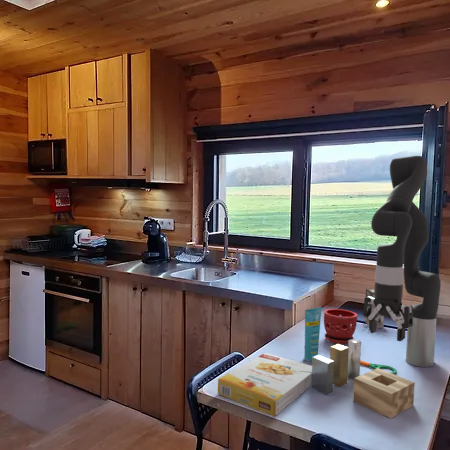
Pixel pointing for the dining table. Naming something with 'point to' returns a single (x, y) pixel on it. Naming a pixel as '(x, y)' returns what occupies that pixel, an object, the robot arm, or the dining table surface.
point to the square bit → (339, 364)
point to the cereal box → (266, 383)
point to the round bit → (354, 358)
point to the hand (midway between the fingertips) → (386, 336)
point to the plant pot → (339, 325)
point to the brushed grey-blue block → (322, 374)
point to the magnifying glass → (378, 366)
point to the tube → (312, 332)
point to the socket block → (384, 392)
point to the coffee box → (380, 318)
